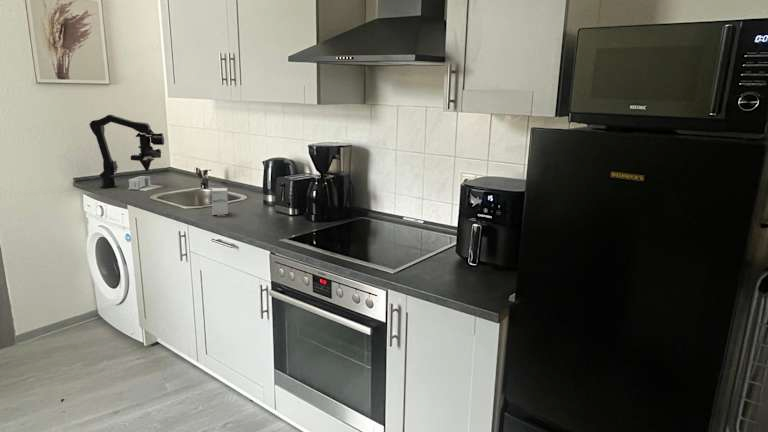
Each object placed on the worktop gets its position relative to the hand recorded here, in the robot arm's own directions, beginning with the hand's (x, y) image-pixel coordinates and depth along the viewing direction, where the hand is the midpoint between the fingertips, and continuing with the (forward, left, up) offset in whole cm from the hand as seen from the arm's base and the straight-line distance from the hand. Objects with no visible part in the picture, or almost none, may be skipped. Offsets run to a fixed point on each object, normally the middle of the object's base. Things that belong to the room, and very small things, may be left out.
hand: (147, 170), depth 309 cm
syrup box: (-1, -11, -7) cm, 13 cm away
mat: (0, -2, -10) cm, 10 cm away
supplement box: (+76, -36, -10) cm, 85 cm away
